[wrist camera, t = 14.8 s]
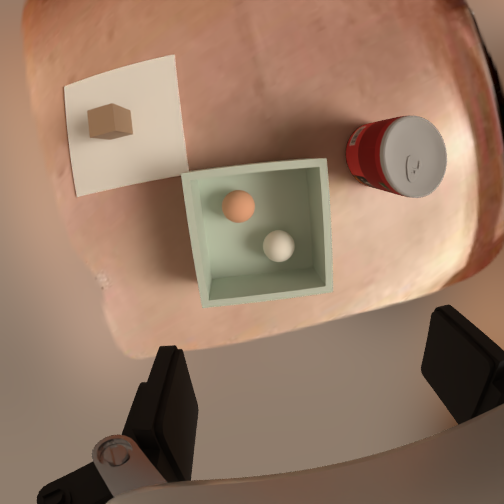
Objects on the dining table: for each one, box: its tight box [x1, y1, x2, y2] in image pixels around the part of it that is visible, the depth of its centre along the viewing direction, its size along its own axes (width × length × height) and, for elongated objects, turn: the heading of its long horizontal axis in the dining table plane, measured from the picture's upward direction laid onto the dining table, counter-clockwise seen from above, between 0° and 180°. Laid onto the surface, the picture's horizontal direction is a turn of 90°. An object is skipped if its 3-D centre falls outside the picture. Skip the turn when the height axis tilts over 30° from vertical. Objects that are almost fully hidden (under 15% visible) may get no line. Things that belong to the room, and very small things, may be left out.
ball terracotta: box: [222, 190, 255, 223], centre depth 35 cm, size 4×4×4 cm
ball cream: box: [263, 230, 295, 262], centre depth 36 cm, size 4×4×4 cm
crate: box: [181, 158, 333, 308], centre depth 35 cm, size 14×14×7 cm
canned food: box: [346, 116, 447, 198], centre depth 31 cm, size 8×8×11 cm
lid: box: [64, 55, 189, 197], centre depth 31 cm, size 15×15×7 cm
